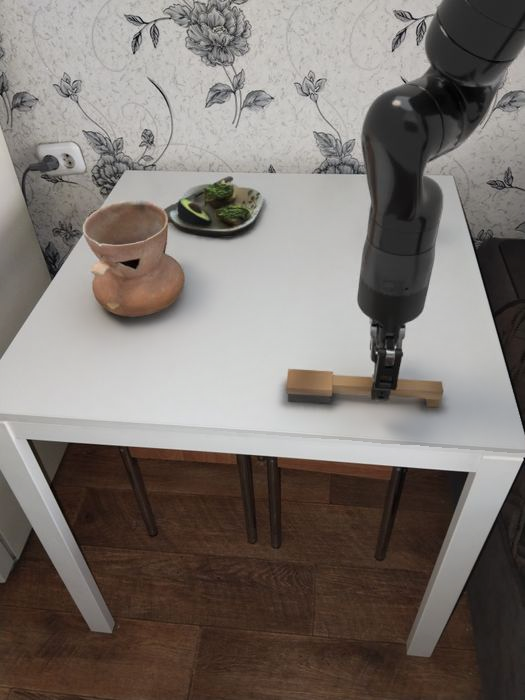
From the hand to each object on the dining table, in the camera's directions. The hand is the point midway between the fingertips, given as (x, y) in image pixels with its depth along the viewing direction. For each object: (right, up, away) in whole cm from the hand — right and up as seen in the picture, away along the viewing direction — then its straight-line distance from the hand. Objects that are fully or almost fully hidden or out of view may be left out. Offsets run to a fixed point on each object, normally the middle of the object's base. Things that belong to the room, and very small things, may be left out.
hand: (378, 373), depth 75 cm
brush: (-2, -3, +4) cm, 5 cm away
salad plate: (-24, +29, +38) cm, 53 cm away
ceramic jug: (-34, +12, +21) cm, 42 cm away
